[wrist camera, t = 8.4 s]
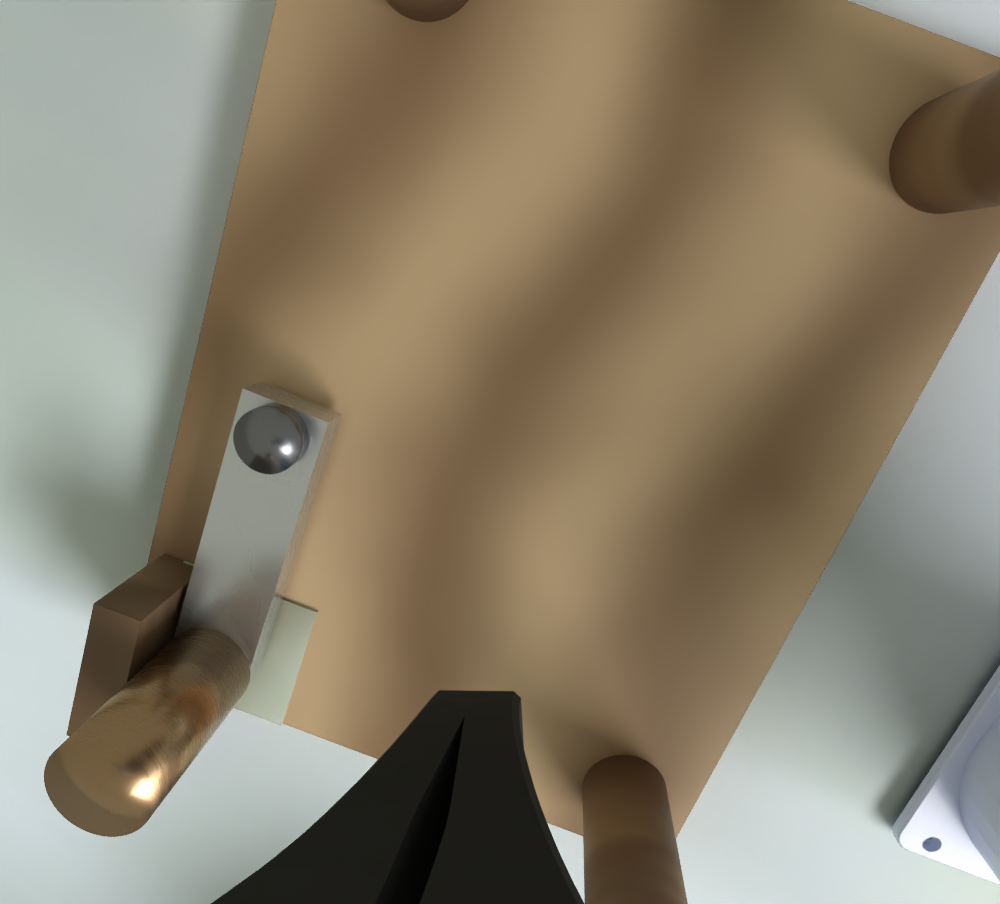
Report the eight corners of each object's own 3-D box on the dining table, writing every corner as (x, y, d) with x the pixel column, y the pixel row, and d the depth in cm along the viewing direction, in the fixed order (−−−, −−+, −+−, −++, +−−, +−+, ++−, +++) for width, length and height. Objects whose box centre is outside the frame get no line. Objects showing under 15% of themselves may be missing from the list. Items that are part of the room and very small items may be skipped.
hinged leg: (256, 379, 18) (121, 430, 12) (345, 414, 18) (247, 480, 12) (176, 666, 20) (35, 810, 15) (253, 697, 20) (140, 852, 15)
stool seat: (1049, 103, 16) (1414, -17, 9) (656, 833, 22) (694, 1089, 15) (340, -164, 16) (163, -489, 9) (148, 642, 22) (-41, 813, 15)
